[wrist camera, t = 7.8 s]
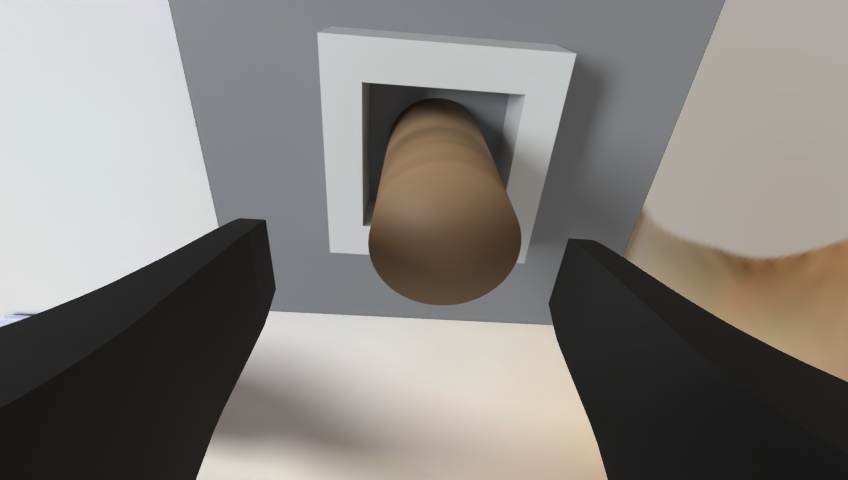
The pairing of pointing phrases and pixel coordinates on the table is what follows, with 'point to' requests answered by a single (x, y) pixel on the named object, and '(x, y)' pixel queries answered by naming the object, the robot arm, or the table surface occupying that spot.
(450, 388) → the table surface
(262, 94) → the grey flat piece
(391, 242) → the walnut peg
